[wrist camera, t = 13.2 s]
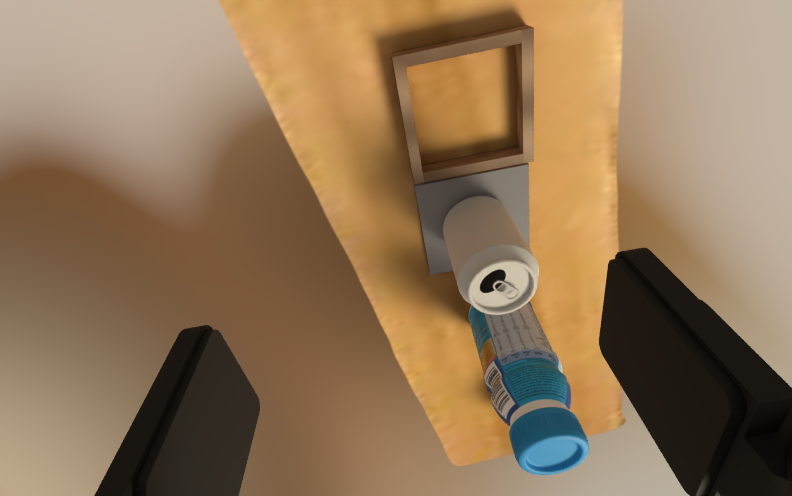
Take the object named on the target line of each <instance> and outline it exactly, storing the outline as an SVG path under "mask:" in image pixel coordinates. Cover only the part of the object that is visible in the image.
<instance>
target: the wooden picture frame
mask: <svg viewBox="0 0 792 496" xmlns="http://www.w3.org/2000/svg"><path fill="white" fill-rule="evenodd" d="M510 45H515V62H516V105H517V147H513V148H508V149H503V150H498V151H492V152H487V153H482V154H477V155H472V156H467V157H462V158H456V159H451V160H446V161H441V162H436V163H431V164H426V165H421V159H420V153H419V147H418V140H417V134H416V128H415V122H414V116H413V109H412V103H411V97H410V91H409V84H408V78H407V72H406V67H410V66H414V65H419V64H424V63H429V62H434V61H438V60H443V59H448V58H453V57H458V56H462V55H467V54H472V53H477V52H482V51H486V50H491V49H496V48H501V47H506V46H510ZM391 55H392V61H393V67H394V72H395V78H396V84H397V89H398V95H399V101H400V106H401V112H402V118H403V123H404V129H405V135H406V141H407V146H408V152H409V158H410V163H411V169H412V175H413V180H414V184H418V183H423V182H429V181H434V180H439V179H444V178H449V177H455V176H460V175H465V174H470V173H475V172H481V171H486V170H491V169H496V168H502V167H507V166H512V165H517V164H522V163H528V162H533V161H534V28H533V27H530V26H528V25H524V26H519V27H514V28H509V29H505V30H500V31H495V32H490V33H486V34H481V35H476V36H472V37H467V38H462V39H457V40H453V41H448V42H443V43H438V44H434V45H429V46H424V47H419V48H415V49H410V50H405V51H400V52H396V53H391Z"/></svg>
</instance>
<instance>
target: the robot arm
mask: <svg viewBox="0 0 792 496" xmlns="http://www.w3.org/2000/svg"><path fill="white" fill-rule="evenodd" d="M599 346H600V350H601V352H602V355H603V357H604V358H605V360H606V362H607V363H608V365H609V367H610V368H611V370H612V371H613V373H614V375H615V376H616V378H617V380H618V381H619V383H620V385H621V386H622V388H623V390H624V391H625V393H626V394H627V396H628V398H629V400H630V401H631V403H632V405H633V406H634V408H635V409H636V411H637V413H638V414H639V416H640V418H641V419H642V421H643V423H644V424H645V426H646V428H647V429H648V431H649V432H650V434H651V436H652V438H653V439H654V441H655V443H656V444H657V446H658V448H659V449H660V451H661V453H662V454H663V456H664V458H665V459H666V461H667V463H668V464H669V466H670V468H671V469H672V471H673V472H674V474H675V476H676V477H677V479H678V481H679V482H680V484H681V486H682V487H683V489H684V490H685V492H686V493H687V494H689V495H690V496H792V388H791V387H790V386H789V385H788V384H787V383H786V382H785V381H784V380H783V379H782V378H781V377H780V376H779V375H778V374H777V373H776V372H775V371H774V370H773V369H772V368H771V367H770V366H769V365H768V364H767V363H766V362H765V361H764V360H763V359H762V358H761V357H760V356H759V355H758V354H757V353H756V352H755V351H754V350H753V349H752V348H751V347H750V346H749V345H748V344H747V343H746V342H745V341H744V340H743V339H742V338H741V337H740V336H738V334H737V333H736V332H734V330H733V329H732V328H731V327H730V326H729V325H728V324H727V323H726V322H725V321H724V320H722V319H721V317H720V316H718V315H717V313H716V312H715V311H714V310H713V309H711V307H709V306H708V305H707V304H706V303H705V302H703V301H702V300H699V299H698V298H697V297H696V296H695V295H694V294H693V293H692V292H691V291H690V290H689V289H688V288H687V287H686V286H685V285H684V284H683V283H682V282H681V281H680V280H679V279H678V278H677V277H676V276H675V275H674V274H673V273H672V272H671V271H670V270H669V269H668V268H667V267H666V266H665V265H664V264H663V263H662V262H661V261H660V260H659V259H658V258H657V257H656V256H655V255H654V254H653V253H652V252H651V251H650V250H649V249H647V248H639V249H633V250H627V251H622V252H618V253H617V254H616V256H615V259H613V260H610V261H609V264H608V271H607V279H606V287H605V295H604V303H603V311H602V320H601V328H600V336H599ZM259 411H260V402H259V398H258V396H257V394H256V393H255V391H254V389H253V388H252V386H251V384H250V383H249V381H248V379H247V377H246V376H245V374H244V372H243V370H242V369H241V367H240V365H239V364H238V362H237V360H236V359H235V357H234V355H233V353H232V352H231V350H230V348H229V347H228V345H227V343H226V341H225V340H224V338H223V336H222V335H221V333H220V332H219V331H218V330H213V329H212V328H211V327H210V326H209V325H204V326H199V327H194V328H187V329H184V330H182V331H181V332H180V333H179V335H178V337H177V339H176V341H175V343H174V345H173V346H172V348H171V350H170V352H169V354H168V356H167V358H166V360H165V362H164V364H163V366H162V368H161V369H160V371H159V373H158V375H157V377H156V379H155V381H154V383H153V385H152V387H151V389H150V390H149V392H148V394H147V396H146V398H145V400H144V402H143V404H142V406H141V408H140V410H139V411H138V413H137V415H136V417H135V419H134V421H133V423H132V425H131V427H130V429H129V431H128V432H127V434H126V436H125V438H124V440H123V442H122V444H121V446H120V448H119V450H118V452H117V453H116V455H115V457H114V459H113V461H112V463H111V465H110V467H109V469H108V471H107V473H106V475H105V476H104V479H103V480H102V482H101V484H100V486H99V488H98V490H97V492H96V494H95V496H239V492H240V487H241V483H242V480H243V475H244V472H245V468H246V464H247V460H248V456H249V452H250V448H251V443H252V440H253V436H254V432H255V428H256V424H257V420H258V416H259Z"/></svg>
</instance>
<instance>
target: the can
mask: <svg viewBox="0 0 792 496" xmlns="http://www.w3.org/2000/svg"><path fill="white" fill-rule="evenodd" d="M443 234H444V239H445V242H446V246H447V250H448V253H449V257H450V260H451V264H452V268H453V271H454V275H455V278H456V282H457V286H458V289H459V292H460V294H461V295H462V297H463V298H464V300H466V301H467V302H468V303H470V304H471V305H472V306H473V307H474V308H476V309H477V310H479V311H480V312H483V313H487V314H492V315H501V314H506V313H511V312H513V311H515V310H517V309H520V308H521V307H522V306H524V305H525V304H526V303H528V302H529V301H530V299H531V298H532V297H533V295H534V294H535V291H536V288H537V279H538V277H539V266H538V263H537V261H536V259H535V257H534V256H533V254H532V252H531V250H530V249H529V247H528V245H527V243H526V242H525V240H524V238H523V236H522V235H521V233H520V231H519V229H518V228H517V226H516V224H515V222H514V221H513V219H512V217H511V215H510V214H509V212H508V210H507V208H506V207H505V206H504V205H503V204H502V203H501V202H500V201H499V200H496V199H494V198H491V197H487V196H475V197H471V198H467V199H465V200H463V201H461V202H459V203H457V204H456V205H455V206H454V207H453V208H452V209H451V210H450V211H449V212H448V214H447V216H446V218H445V220H444V224H443Z"/></svg>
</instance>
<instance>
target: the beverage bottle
mask: <svg viewBox="0 0 792 496" xmlns="http://www.w3.org/2000/svg"><path fill="white" fill-rule="evenodd" d="M468 317H469V323H470V326H471V329H472V332H473V336H474V339H475V343H476V346H477V350H478V354H479V357H480V361H481V365H482V369H483V372H484V381H485V384H486V387H487V389H488V391H489V392H490V393H491V401H492V405H493V407H494V409H495V411H496V412H497V414H498V415H499V416H500V418H501V419H502V420H503V421H504V422H505V423H506V424H507V425H509V426H510V427H509V436H510V440H511V444H512V448H513V451H514V454H515V458H516V460H517V461H518V464H519V466H520V467H521V468H522V469H523V470H525V471H527V472H529V473H532V474H537V475H551V474H557V473H561V472H564V471H567V470H570V469H572V468H574V467H576V466H577V465H579V464H580V463H581V462H582V461H583V460H584V459H585V458H586V457H587V455H588V452H589V445H588V440H587V438H586V435H585V433H584V431H583V429H582V427H581V425H580V423H579V421H578V419H577V417H576V416H575V415H574V413H573V412H572V411H571V410H570V404H571V390H570V385H569V382H568V379H567V378H566V376H565V375H564V374H563V373H562V366H561V363H560V360H559V358H558V356H557V355H556V353H555V352H554V351H553V349H552V347H551V345H550V343H549V341H548V339H547V337H546V335H545V333H544V331H543V329H542V327H541V325H540V323H539V321H538V319H537V317H536V315H535V313H534V311H533V308H532V305H531V303H530V301H529V302H528V303H526V304H525V305H524V306H522V307H521V308H520V309H517V310H515V311H513V312H511V313H506V314H501V315H492V314H487V313H483V312H480V311H479V310H477V309H476V308H474V307H473V306H472V305H471V307H470V310H469V315H468Z"/></svg>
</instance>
